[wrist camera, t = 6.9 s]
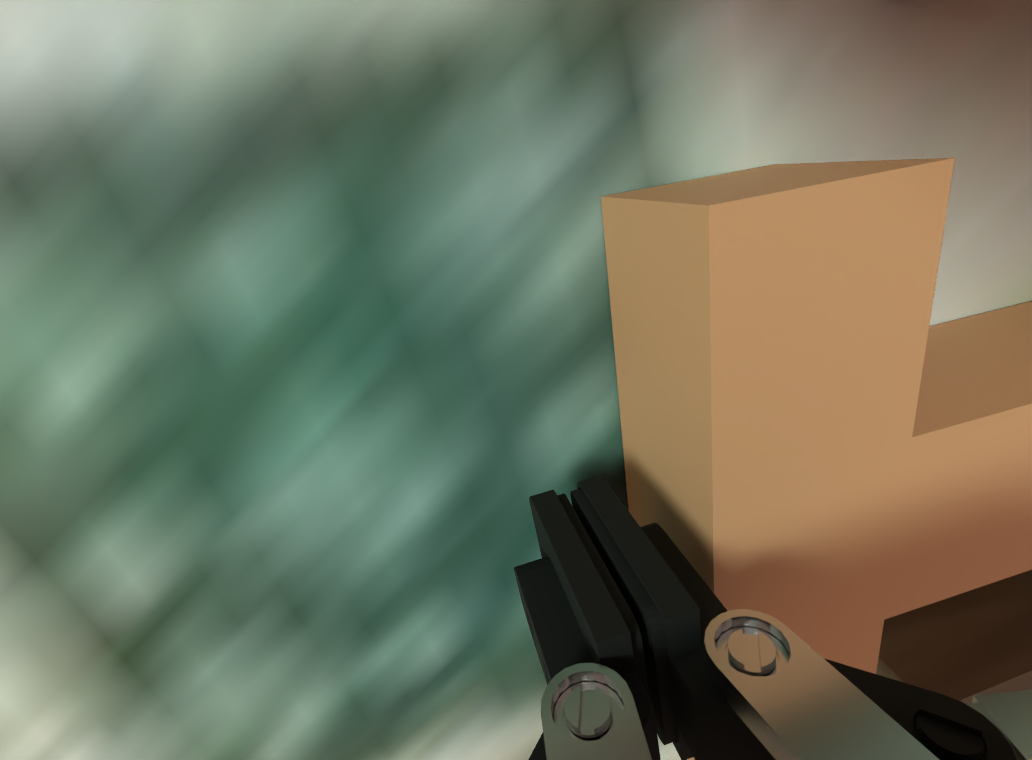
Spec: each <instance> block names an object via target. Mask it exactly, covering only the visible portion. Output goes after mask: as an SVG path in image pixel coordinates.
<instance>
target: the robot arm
mask: <svg viewBox="0 0 1032 760" xmlns="http://www.w3.org/2000/svg"><path fill="white" fill-rule="evenodd" d="M577 488H578V489H577V490H574V491H571V500H572V505H571V503H570V502H569V500H568V498H567V496H566V495H565V494H561V495H556V493H555V491H554V490H551V491H547V492H544V493H541V494H537V495H534V496H531V497H530V498H529V499H530V505H531V510H532V514H533V519H534V523H535V528H536V533H537V537H538V542H539V546H540V551H541V555H542V559H539V560H535V561H532V562H529V563H526V564H523V565H520V566H517V567H514V571H515V575H516V580H517V584H518V588H519V592H520V596H521V600H522V603H523V607H524V611H525V614H526V618H527V621H528V624H529V628H530V631H531V634H532V638H533V641H534V644H535V647H536V650H537V653H538V657H539V660H540V663H541V666H542V669H543V672H544V675H545V679H546V682H547V686H546V689H545V691H544V694H543V697H542V700H541V718H542V726H543V733H542V735H541V737H540V739H539V741H538V743H537V745H536V747H535V749H534V750H533V752H532V754H531V756H530V758H529V760H660V753H659V745H658V738H657V734H658V736H659V738H660V740H661V742H662V743H663V744H664V745H666V744H669V743H671V742H673V744H674V746H675V748H676V750H677V752H678V754H679V756H680V758H681V760H687V759H690V758H692V757H694V759H695V760H1032V689H1030V690H1020V691H1011V692H1002V693H993V694H983V695H974V696H973V700H972V703H967V704H965V703H963V702H961V701H958V700H956V699H953V698H951V697H948V696H946V695H943V694H940V693H937V692H933V691H930V690H927V689H923V688H920V687H917V686H914V685H910V684H907V683H904V682H900V681H897V680H894V679H890V678H887V677H884V676H881V675H877V674H874V673H871V672H867V671H864V670H861V669H857V668H854V667H851V666H847V665H844V664H841V663H838V662H834V661H831V660H828V659H824V658H823V657H821V656H820V655H819V654H818V653H817V652H816V651H815V650H813V649H812V648H811V647H810V646H809V645H808V644H807V643H805V642H804V641H803V640H802V639H801V638H800V637H799V636H797V635H796V634H795V633H794V632H793V631H792V630H791V629H789V628H788V627H787V626H786V625H785V624H783V623H782V622H780V621H779V620H777V619H776V618H774V617H772V616H770V615H767V614H765V613H763V612H760V611H754V610H749V609H737V610H730V611H727V609H726V608H725V607H724V606H723V604H722V603H721V602H720V600H719V599H718V598H717V597H716V595H715V594H714V593H713V592H712V590H711V589H710V588H709V587H708V585H707V584H706V583H705V582H704V580H703V579H702V578H701V577H700V575H699V574H698V573H697V571H696V570H695V569H694V568H693V566H692V565H691V564H690V563H689V561H688V560H687V559H686V558H685V556H684V555H683V554H682V553H681V551H680V550H679V549H678V547H677V546H676V545H675V544H674V542H673V541H672V540H671V539H670V537H669V536H668V535H667V534H666V532H665V531H664V530H663V529H662V527H661V526H660V525H659V524H657V523H652V524H649V525H645V526H642V527H640V526H639V525H638V523H637V522H636V520H635V519H634V518H633V516H632V515H631V514H630V512H629V511H628V510H627V508H626V507H625V505H624V504H623V503H622V501H621V500H620V499H619V497H618V496H617V494H616V493H615V492H614V490H613V489H612V488H611V486H610V485H609V484H608V482H607V481H606V479H605V478H604V477H603V476H597V477H594V478H591V479H587V480H584V481H581V482H578V483H577ZM572 506H573V507H572Z"/></svg>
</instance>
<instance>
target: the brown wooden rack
mask: <svg viewBox="0 0 1032 760" xmlns="http://www.w3.org/2000/svg"><path fill="white" fill-rule="evenodd" d="M876 674H877V675H881V676H884V677H887V678H890V679H894V680H897V681H900V682H904V683H907V684H910V685H914V686H917V687H920V688H923V689H927V690H930V691H933V692H937V693H940V694H943V695H946V696H948V697H951V698H953V699H956V700H958V701H961V702H963V703H965V704H967V703H972V700H973V696H974V695H983V694H993V693H1002V692H1011V691H1020V690H1030V689H1032V570H1029V571H1026V572H1023V573H1020V574H1017V575H1014V576H1011V577H1008V578H1005V579H1002V580H1000V581H997V582H994V583H991V584H988V585H985V586H982V587H979V588H976V589H973V590H970V591H967V592H964V593H961V594H958V595H955V596H952V597H950V598H947V599H944V600H941V601H938V602H935V603H932V604H929V605H926V606H923V607H920V608H917V609H914V610H911V611H908V612H905V613H902V614H900V615H897V616H894V617H891V618H888V619H885V620H884V625H883V631H882V638H881V644H880V651H879V657H878V664H877V670H876Z"/></svg>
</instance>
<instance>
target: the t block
mask: <svg viewBox="0 0 1032 760" xmlns="http://www.w3.org/2000/svg"><path fill="white" fill-rule="evenodd" d="M954 160H955V158H938V159H910V160H883V161H855V162H828V163H800V164H774V165H769V166H763V167H758V168H753V169H747V170H742V171H736V172H731V173H726V174H720V175H715V176H709V177H704V178H698V179H693V180H688V181H682V182H677V183H671V184H666V185H661V186H655V187H650V188H644V189H639V190H634V191H628V192H623V193H617V194H612V195H607V196H601V203H602V215H603V226H604V237H605V249H606V260H607V271H608V282H609V294H610V305H611V316H612V328H613V339H614V350H615V362H616V373H617V384H618V395H619V407H620V418H621V429H622V441H623V452H624V463H625V475H626V486H627V497H628V509H629V512H630V514H631V515H632V516H633V518H634V519H635V520H636V522H637V523H638V525H639V526H640V527H642V526H645V525H649V524H652V523H657V524H659V525H660V526H661V527H662V529H663V530H664V531H665V532H666V534H667V535H668V536H669V537H670V539H671V540H672V541H673V542H674V544H675V545H676V546H677V547H678V549H679V550H680V551H681V553H682V554H683V555H684V556H685V558H686V559H687V560H688V561H689V563H690V564H691V565H692V566H693V568H694V569H695V570H696V571H697V573H698V574H699V575H700V577H701V578H702V579H703V580H704V582H705V583H706V584H707V585H708V587H709V588H710V589H711V590H712V592H713V593H714V594H715V595H716V597H717V598H718V599H719V600H720V602H721V603H722V604H723V606H724V607H725V608H726V609H727V611H730V610H737V609H749V610H754V611H760V612H763V613H765V614H767V615H770V616H772V617H774V618H776V619H777V620H779V621H780V622H782V623H783V624H785V625H786V626H787V627H788V628H789V629H791V630H792V631H793V632H794V633H795V634H796V635H797V636H799V637H800V638H801V639H802V640H803V641H804V642H805V643H807V644H808V645H809V646H810V647H811V648H812V649H813V650H815V651H816V652H817V653H818V654H819V655H820V656H821V657H823V658H824V659H828V660H831V661H834V662H838V663H841V664H844V665H847V666H851V667H854V668H857V669H861V670H864V671H867V672H871V673H874V674H876V670H877V664H878V657H879V651H880V644H881V638H882V631H883V625H884V620H885V619H888V618H891V617H894V616H897V615H900V614H902V613H905V612H908V611H911V610H914V609H917V608H920V607H923V606H926V605H929V604H932V603H935V602H938V601H941V600H944V599H947V598H950V597H952V596H955V595H958V594H961V593H964V592H967V591H970V590H973V589H976V588H979V587H982V586H985V585H988V584H991V583H994V582H997V581H1000V580H1002V579H1005V578H1008V577H1011V576H1014V575H1017V574H1020V573H1023V572H1026V571H1029V570H1032V301H1030V302H1026V303H1022V304H1018V305H1014V306H1010V307H1006V308H1002V309H998V310H994V311H990V312H986V313H982V314H978V315H974V316H970V317H965V318H961V319H957V320H953V321H949V322H945V323H941V324H937V325H933V326H929V324H930V317H931V311H932V304H933V298H934V291H935V285H936V278H937V272H938V265H939V258H940V252H941V245H942V239H943V232H944V226H945V219H946V213H947V206H948V200H949V193H950V187H951V180H952V173H953V167H954ZM688 760H695V759H694V757H692V758H690V759H688Z"/></svg>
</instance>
